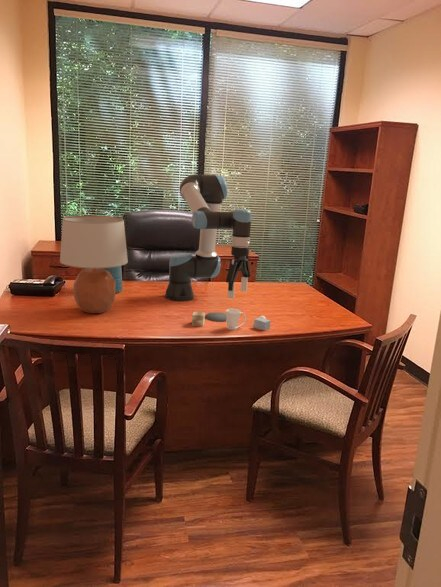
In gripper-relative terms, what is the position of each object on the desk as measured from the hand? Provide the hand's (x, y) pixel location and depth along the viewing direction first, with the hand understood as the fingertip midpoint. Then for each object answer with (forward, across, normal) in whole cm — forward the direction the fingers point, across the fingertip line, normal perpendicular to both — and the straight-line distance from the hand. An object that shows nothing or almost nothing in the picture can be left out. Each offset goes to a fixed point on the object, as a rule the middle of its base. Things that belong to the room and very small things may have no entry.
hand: (237, 294), depth 210 cm
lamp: (+15, -17, +65) cm, 69 cm away
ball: (+15, +12, -8) cm, 21 cm away
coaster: (+15, +9, +13) cm, 22 cm away
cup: (+16, 0, 0) cm, 16 cm away
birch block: (+16, -5, +16) cm, 23 cm away
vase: (+15, +15, +84) cm, 87 cm away
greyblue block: (+16, +7, -10) cm, 20 cm away
